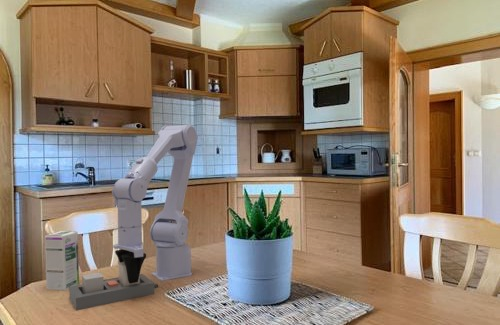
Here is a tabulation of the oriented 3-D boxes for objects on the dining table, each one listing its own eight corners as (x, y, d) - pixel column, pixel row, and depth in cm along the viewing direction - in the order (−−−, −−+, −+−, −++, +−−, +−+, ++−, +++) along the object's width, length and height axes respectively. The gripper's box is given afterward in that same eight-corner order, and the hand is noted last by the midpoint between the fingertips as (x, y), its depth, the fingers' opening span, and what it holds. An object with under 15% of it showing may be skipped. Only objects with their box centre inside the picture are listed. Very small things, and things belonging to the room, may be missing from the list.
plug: (135, 283, 100) (134, 258, 100) (140, 287, 97) (139, 262, 96) (119, 286, 98) (118, 261, 98) (123, 290, 94) (123, 264, 94)
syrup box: (65, 291, 99) (64, 235, 99) (45, 290, 100) (44, 234, 100) (79, 284, 105) (78, 230, 104) (60, 283, 106) (59, 230, 106)
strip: (151, 283, 105) (151, 261, 105) (163, 292, 98) (163, 269, 97) (69, 299, 94) (69, 274, 94) (76, 311, 86) (75, 284, 86)
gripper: (106, 223, 101) (107, 275, 101) (121, 232, 89) (122, 291, 89) (133, 220, 105) (133, 270, 105) (151, 229, 93) (152, 285, 93)
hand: (130, 279), depth 97 cm, fingers closed on plug, 4 cm apart
